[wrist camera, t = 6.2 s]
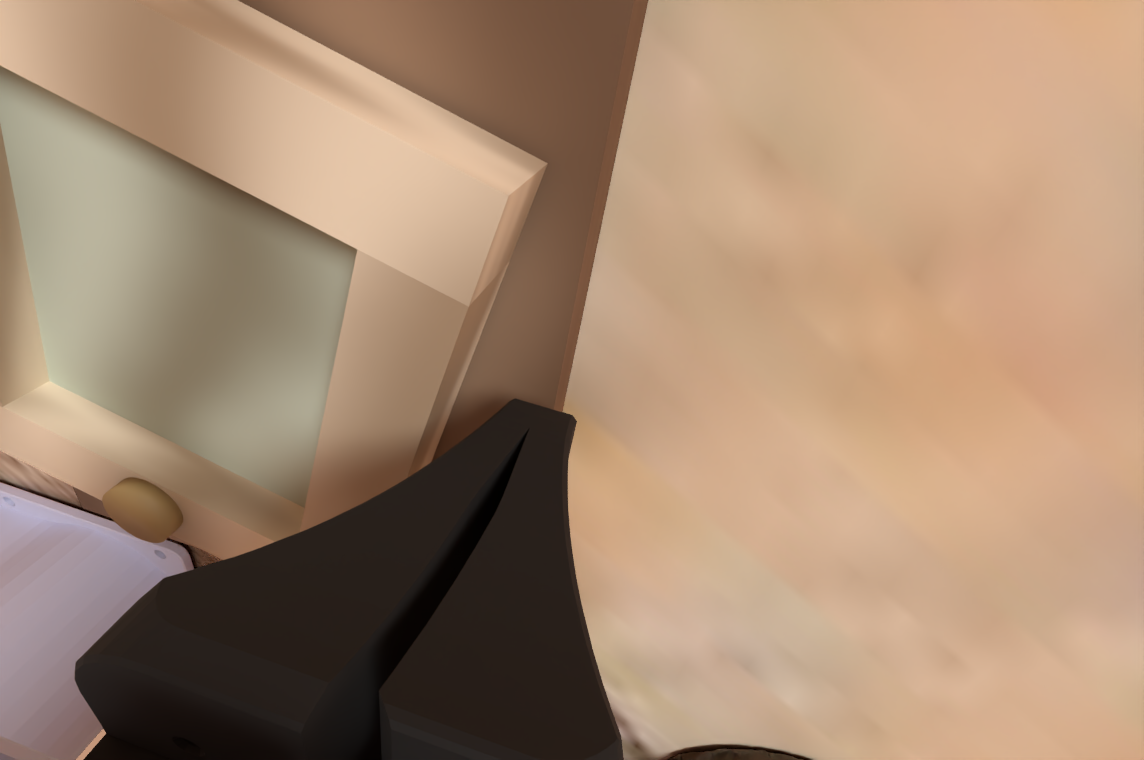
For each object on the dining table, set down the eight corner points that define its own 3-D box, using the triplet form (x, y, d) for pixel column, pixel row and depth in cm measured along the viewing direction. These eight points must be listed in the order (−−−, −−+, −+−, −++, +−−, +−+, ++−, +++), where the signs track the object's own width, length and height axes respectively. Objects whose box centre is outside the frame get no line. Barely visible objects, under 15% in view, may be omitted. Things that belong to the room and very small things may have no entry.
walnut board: (119, 480, 22) (80, 510, 21) (-173, -259, 11) (-298, -293, 10) (519, 615, 20) (504, 657, 19) (667, -91, 9) (653, -106, 8)
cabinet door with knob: (22, 384, 17) (-75, 435, 15) (-107, -182, 10) (-340, -231, 7) (390, 566, 17) (343, 641, 15) (547, 163, 10) (496, 206, 8)
